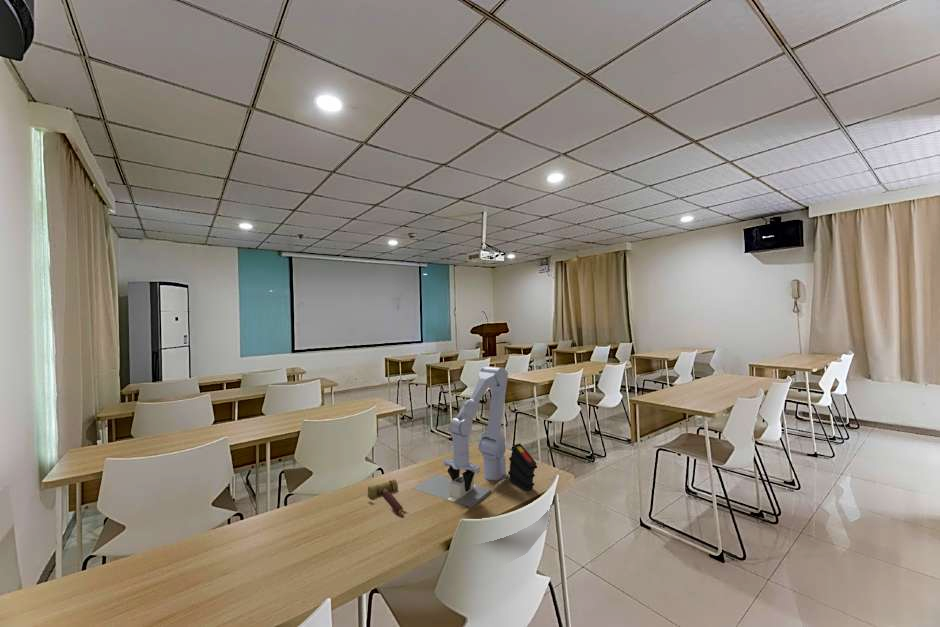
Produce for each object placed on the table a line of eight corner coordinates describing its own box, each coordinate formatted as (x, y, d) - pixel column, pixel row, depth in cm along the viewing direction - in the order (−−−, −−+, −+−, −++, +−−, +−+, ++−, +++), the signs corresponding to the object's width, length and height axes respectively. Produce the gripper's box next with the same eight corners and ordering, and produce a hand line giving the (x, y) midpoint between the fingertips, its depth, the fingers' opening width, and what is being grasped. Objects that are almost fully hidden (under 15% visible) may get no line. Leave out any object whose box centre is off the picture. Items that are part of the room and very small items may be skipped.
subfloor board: (435, 476, 155) (435, 474, 155) (491, 492, 140) (491, 489, 140) (412, 491, 143) (411, 488, 143) (469, 509, 129) (469, 506, 129)
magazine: (511, 471, 154) (520, 442, 148) (530, 497, 143) (541, 467, 138) (503, 473, 152) (512, 444, 146) (522, 500, 142) (533, 470, 136)
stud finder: (464, 485, 144) (463, 473, 144) (474, 488, 142) (473, 475, 141) (449, 495, 136) (449, 482, 136) (460, 498, 134) (459, 485, 134)
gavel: (416, 503, 128) (388, 512, 123) (416, 516, 129) (388, 526, 123) (393, 477, 146) (367, 484, 140) (393, 488, 146) (367, 496, 141)
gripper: (438, 451, 140) (439, 488, 140) (471, 459, 131) (472, 498, 132) (449, 445, 145) (450, 480, 146) (482, 452, 137) (483, 489, 138)
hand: (462, 488), depth 139 cm, fingers closed on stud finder, 4 cm apart
